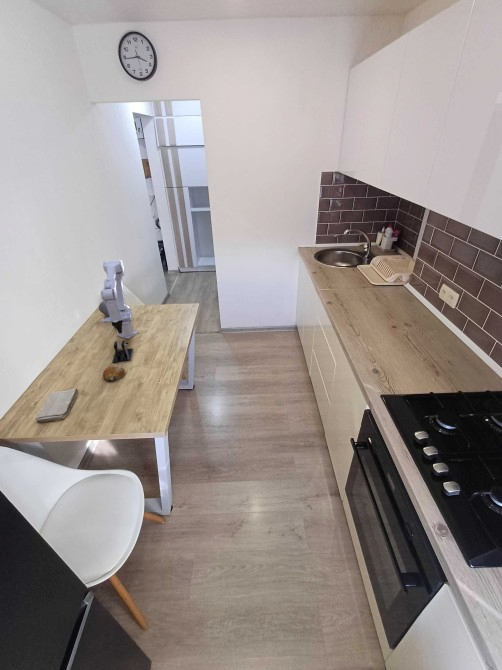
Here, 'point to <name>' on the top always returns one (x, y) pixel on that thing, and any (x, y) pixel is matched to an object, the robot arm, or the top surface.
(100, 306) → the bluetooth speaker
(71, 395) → the washcloth
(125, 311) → the robot arm
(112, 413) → the top surface
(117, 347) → the tap lever
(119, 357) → the tap bracket
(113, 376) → the bread roll
